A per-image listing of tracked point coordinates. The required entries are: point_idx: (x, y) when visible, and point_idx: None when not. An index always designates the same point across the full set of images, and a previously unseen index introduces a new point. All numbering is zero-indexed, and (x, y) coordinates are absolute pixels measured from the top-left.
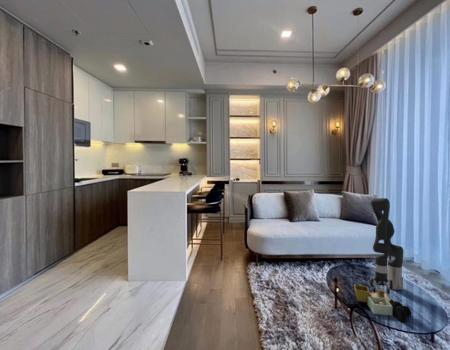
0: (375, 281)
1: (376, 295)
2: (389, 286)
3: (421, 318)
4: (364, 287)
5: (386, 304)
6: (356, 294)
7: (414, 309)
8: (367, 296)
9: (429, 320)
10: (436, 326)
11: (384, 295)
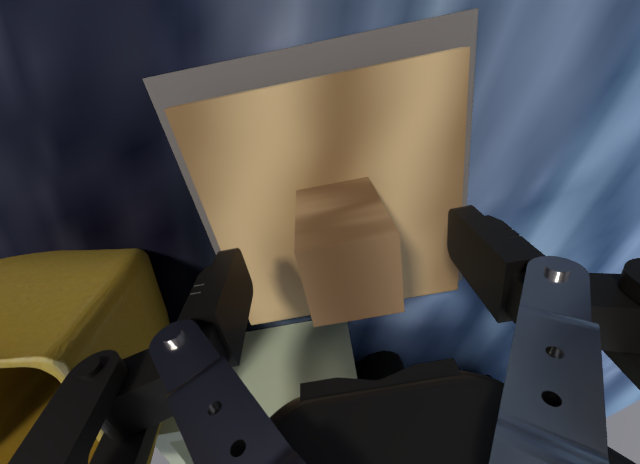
0: (194, 460)
1: (281, 187)
2: (613, 325)
3: None
4: (15, 346)
5: None
6: (8, 420)
7: (621, 263)
8: None
9: (610, 375)
10: None
11: (410, 131)
